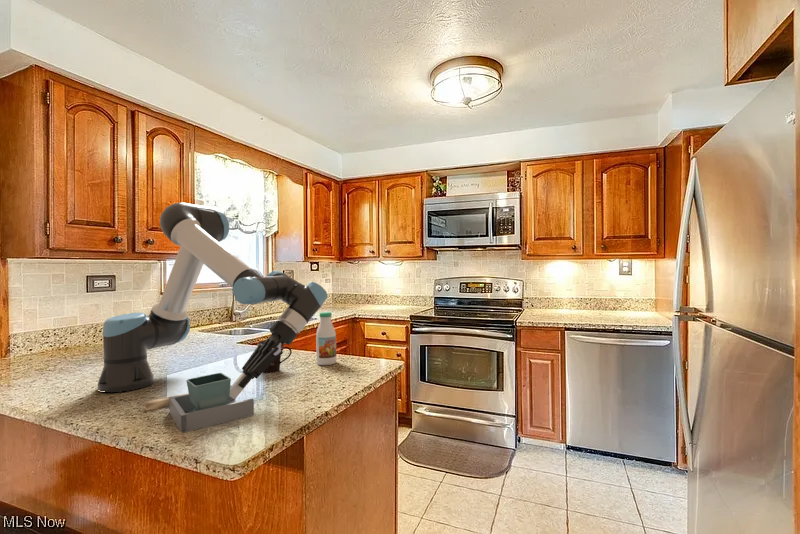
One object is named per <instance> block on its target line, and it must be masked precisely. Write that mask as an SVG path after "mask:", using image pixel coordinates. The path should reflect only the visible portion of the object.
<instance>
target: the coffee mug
mask: <svg viewBox="0 0 800 534" xmlns="http://www.w3.org/2000/svg"><path fill="white" fill-rule="evenodd" d="M257 346H258V344H257ZM285 349H288V350H289V354H288V356H286V357H285V358H284V359H282V360H281V357H282V355H280V356H279V357H278V358H276V359H275V361H274V362H273V363H272V364H271V365H270V366H269V367H268V368H267V369H266V370H265V371H264V372H263V373H262V374H272V373H273V372H274V373H277V371H278V372H279V371H280V370H281V367H280V366H281V364H282V363H283V362H285V361H286V360H288V359H289V358H290V356H291V355H292V353H293V351H292V349H291V348H290V347H289V346H283V347H282V348H281V351H284V350H285Z"/></svg>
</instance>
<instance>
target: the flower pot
mask: <svg viewBox="0 0 800 534" xmlns="http://www.w3.org/2000/svg"><path fill="white" fill-rule="evenodd" d="M231 382H232V379H231V377H229V376H227V375H226V374H224V373H222V372H216V373H212V374H206V375H202V376H198V377H197V376H196V377H192V378H188V379H186V386H187V391H188V392H187V393H189V397H190V400H191V403H192V405H193V407H194V410H195V411H198V410H203V409H207V408H212V407H216V406H221V405H225V404H229V403H228V402H229V401H228V400H229V395H230V385H231Z"/></svg>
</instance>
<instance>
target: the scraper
mask: <svg viewBox="0 0 800 534" xmlns="http://www.w3.org/2000/svg"><path fill="white" fill-rule="evenodd" d="M185 394H189V392H187V393H182V394H176V395H173V396H171V395H170V396H168V397H163V398H162V397H161V398H157V399H153V400H152V399H150V400H147V401H144V409H145V408H146V409H145V411H146V410H147V411H150V409H151V410H154V409H155V408H156V409H160V408H159V407H161V408H165V407H164V406H166V407H169V397H174V396H180V395H185ZM156 409H155V410H156Z"/></svg>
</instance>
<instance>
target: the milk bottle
mask: <svg viewBox="0 0 800 534" xmlns="http://www.w3.org/2000/svg"><path fill="white" fill-rule="evenodd" d="M336 333H337V332H336V329H335V327H334V324H333V322H332V312H331V311H323V312H320V313H319V324H318V327H317V329H316V335H315V336H316V337H315V341H316V342H315V344H316V346H315V348H316V349H315V351H316V352H315V354H316V365H318V366H330V365H334V364H336V363H337V361H338V360H337V358H338V357H337V334H336Z"/></svg>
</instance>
